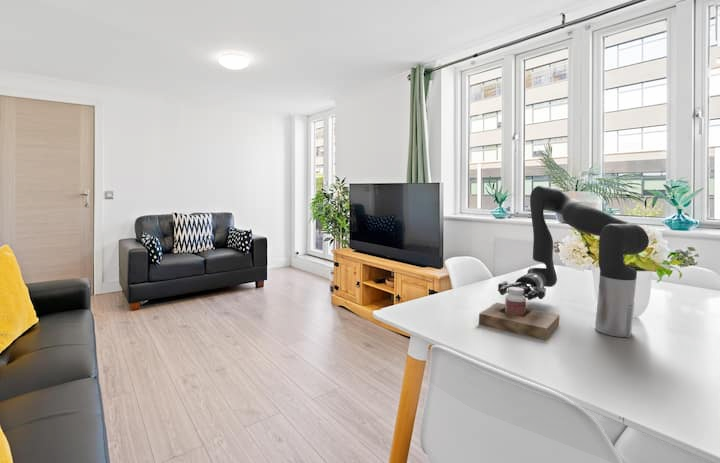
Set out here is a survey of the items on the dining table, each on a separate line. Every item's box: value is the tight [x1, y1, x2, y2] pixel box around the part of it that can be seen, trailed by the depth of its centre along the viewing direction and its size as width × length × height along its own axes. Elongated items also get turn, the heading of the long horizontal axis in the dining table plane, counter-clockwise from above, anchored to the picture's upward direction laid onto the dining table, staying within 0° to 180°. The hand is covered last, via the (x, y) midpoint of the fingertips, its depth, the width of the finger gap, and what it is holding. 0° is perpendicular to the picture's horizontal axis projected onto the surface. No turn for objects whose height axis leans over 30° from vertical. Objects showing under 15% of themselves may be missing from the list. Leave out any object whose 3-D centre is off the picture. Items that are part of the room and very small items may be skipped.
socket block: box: [478, 302, 560, 341], centre depth 124 cm, size 20×16×4 cm
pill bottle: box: [504, 287, 527, 317], centre depth 126 cm, size 6×6×11 cm
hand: (515, 294), depth 125 cm, fingers open, 8 cm apart
